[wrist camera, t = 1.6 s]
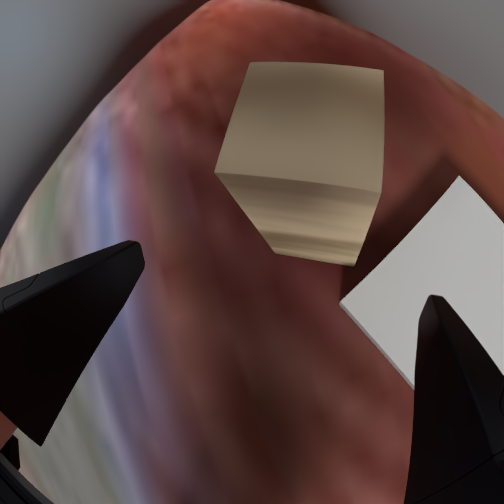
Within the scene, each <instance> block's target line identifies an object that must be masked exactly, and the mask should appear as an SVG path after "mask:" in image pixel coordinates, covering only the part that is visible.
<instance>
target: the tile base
mask: <svg viewBox="0 0 504 504" xmlns="http://www.w3.org/2000/svg"><path fill="white" fill-rule="evenodd" d="M431 294H433V295H439V296H443V297H444V298H445V299H446V300H447V302H448V303H449V304H450V305H451V306H452V308H453V309H454V310H455V311H456V313H457V314H458V315H459V316H460V317H461V319H462V320H463V321H464V322H465V324H466V325H467V326H468V328H469V329H470V330H471V331H472V333H473V334H474V335H475V337H476V338H477V339H478V340H479V342H480V343H481V344H482V346H483V347H484V349H485V350H486V351H487V353H488V354H489V355H490V357H491V358H492V360H493V361H494V362H495V364H496V365H497V367H498V368H499V369H500V371H501V372H502V374H503V375H504V223H503V222H502V221H501V220H500V219H499V218H498V216H497V215H496V214H495V213H494V212H493V211H492V210H491V208H490V207H489V206H488V205H487V204H486V203H485V202H484V201H483V200H482V199H481V197H480V196H479V195H478V194H477V193H476V192H475V191H474V190H473V189H472V188H471V187H470V186H469V185H468V184H467V183H466V182H465V181H464V180H463V179H462V178H461V177H460V176H458V178H457V179H456V180H455V181H454V182H453V184H452V185H451V186H450V187H449V188H448V190H447V191H446V192H445V193H444V194H443V195H442V197H441V198H440V199H439V200H438V201H437V202H436V204H435V205H434V206H433V207H432V208H431V209H430V210H429V212H428V213H427V214H426V215H425V216H424V217H423V218H422V219H421V220H420V222H419V223H418V224H417V225H416V226H415V227H414V228H413V229H412V230H411V231H410V232H409V233H408V235H407V236H406V237H405V238H404V239H403V240H402V241H401V242H400V243H399V244H398V245H397V246H396V247H395V248H394V249H393V250H392V251H391V252H390V253H389V254H388V255H387V256H386V258H385V259H384V260H383V261H382V262H381V263H380V264H379V265H378V266H377V267H376V268H375V269H374V270H373V271H372V272H371V273H370V274H368V275H367V276H366V277H365V278H364V279H363V280H362V281H361V282H360V283H359V284H358V285H357V286H356V287H355V288H354V289H353V290H352V291H351V292H350V293H349V294H348V295H347V296H346V297H344V298H343V299H342V300H341V301H340V303H339V305H340V306H341V307H342V308H343V310H344V311H345V312H346V313H347V314H348V315H349V316H350V317H351V319H352V320H353V321H354V322H355V323H356V324H357V325H358V326H359V328H360V329H361V330H362V331H363V332H364V333H365V334H366V335H367V337H368V338H369V339H370V340H371V341H372V342H373V343H374V345H375V346H376V347H377V348H378V349H379V350H380V351H381V353H382V354H383V355H384V356H385V357H386V358H387V359H388V361H389V362H390V363H391V364H392V365H393V366H394V367H395V369H396V370H397V371H398V372H399V373H400V374H401V376H402V377H403V378H404V379H405V380H406V381H407V383H408V384H409V385H410V386H411V387H412V388H413V390H414V374H415V360H416V349H417V336H418V322H419V317H420V315H421V312H422V310H423V307H424V305H425V303H426V300H427V298H428V296H429V295H431Z"/></svg>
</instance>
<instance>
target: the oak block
mask: <svg viewBox="0 0 504 504" xmlns="http://www.w3.org/2000/svg"><path fill="white" fill-rule="evenodd" d="M383 156H384V72H383V70H377V69H370V68H363V67H354V66H345V65H334V64H321V63H303V62H250V64H249V67H248V70H247V72H246V75H245V78H244V81H243V84H242V87H241V90H240V93H239V96H238V98H237V101H236V104H235V107H234V110H233V114H232V117H231V120H230V123H229V126H228V129H227V132H226V135H225V138H224V142H223V145H222V148H221V151H220V154H219V158H218V161H217V164H216V168H215V171H214V173H215V174H216V175H217V177H218V178H219V179H220V181H221V182H222V183H223V185H224V186H225V187H226V189H227V190H228V191H229V192H230V194H231V195H232V196H233V198H234V199H235V200H236V202H237V203H238V204H239V206H240V207H241V208H242V210H243V211H244V212H245V214H246V215H247V216H248V218H249V219H250V220H251V222H252V223H253V224H254V226H255V227H256V228H257V230H258V231H259V232H260V234H261V235H262V236H263V238H264V239H265V240H266V242H267V243H268V244H269V246H270V247H271V248H272V250H273V251H274V252H275V253H276V254H282V255H288V256H294V257H300V258H306V259H312V260H317V261H323V262H329V263H335V264H341V265H347V266H352V267H354V266H355V263H356V261H357V258H358V255H359V253H360V250H361V248H362V245H363V242H364V240H365V237H366V235H367V232H368V229H369V226H370V224H371V221H372V218H373V215H374V212H375V210H376V207H377V204H378V201H379V198H380V195H381V190H382V176H383Z"/></svg>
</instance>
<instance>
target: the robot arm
mask: <svg viewBox="0 0 504 504" xmlns="http://www.w3.org/2000/svg"><path fill="white" fill-rule="evenodd" d="M144 266H145V261H144V257H143V253H142V249H141V245H140V243H139V242H137V241H131V240H127V241H124V242H121V243H118V244H116V245H113V246H110V247H107V248H104V249H102V250H99V251H96V252H93V253H91V254H88V255H85V256H83V257H80V258H77V259H75V260H72V261H69V262H67V263H64V264H61V265H59V266H56V267H54V268H51V269H49V270H46V271H43V272H41V273H40V274H36V275H33V276H31V277H28V278H26V279H23V280H21V281H18V282H15V283H12V284H10V285H7V286H4V287H1V288H0V504H54V503H52V502H51V501H50V500H49V499H48V498H47V497H45V496H44V495H43V494H42V493H41V492H40V491H39V490H37V489H36V488H35V487H34V486H33V485H32V484H31V483H30V482H29V481H28V480H27V479H26V478H25V477H24V476H23V475H22V474H21V473H20V472H19V471H18V470H19V468H20V459H19V445H18V439H17V438H16V437H15V436H14V435H13V433H14V432H15V430H16V429H17V428H19V429H20V430H21V431H22V432H23V433H24V434H26V435H27V436H28V437H29V438H30V439H31V440H33V441H34V442H35V443H36V444H38V445H39V446H40V447H41V446H42V444H43V443H44V441H45V439H46V437H47V435H48V433H49V431H50V429H51V427H52V426H53V424H54V422H55V420H56V418H57V416H58V414H59V413H60V411H61V409H62V407H63V405H64V403H65V402H66V399H67V398H68V396H69V394H70V392H71V391H72V389H73V387H74V385H75V384H76V382H77V380H78V378H79V377H80V375H81V373H82V372H83V370H84V368H85V367H86V365H87V363H88V362H89V360H90V358H91V357H92V355H93V353H94V352H95V350H96V348H97V347H98V345H99V344H100V342H101V340H102V339H103V337H104V336H105V334H106V332H107V331H108V329H109V328H110V326H111V325H112V323H113V322H114V320H115V318H116V317H117V315H118V314H119V312H120V311H121V309H122V308H123V306H124V304H125V303H126V301H127V299H128V297H129V295H130V294H131V292H132V290H133V288H134V286H135V284H136V282H137V281H138V279H139V277H140V275H141V273H142V272H143V270H144ZM404 504H504V375H503V374H502V372H501V371H500V369H499V368H498V367H497V365H496V364H495V362H494V361H493V360H492V358H491V357H490V355H489V354H488V353H487V351H486V350H485V349H484V347H483V346H482V344H481V343H480V342H479V340H478V339H477V338H476V337H475V335H474V334H473V333H472V331H471V330H470V329H469V328H468V326H467V325H466V324H465V322H464V321H463V320H462V319H461V317H460V316H459V315H458V314H457V313H456V311H455V310H454V309H453V308H452V306H451V305H450V304H449V303H448V302H447V300H446V299H445V298H444V297H443V296H439V295H433V294H431V295H429V296H428V298H427V300H426V303H425V305H424V307H423V310H422V312H421V315H420V317H419V322H418V336H417V349H416V360H415V374H414V415H413V432H412V445H411V455H410V464H409V473H408V480H407V487H406V493H405V499H404Z"/></svg>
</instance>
